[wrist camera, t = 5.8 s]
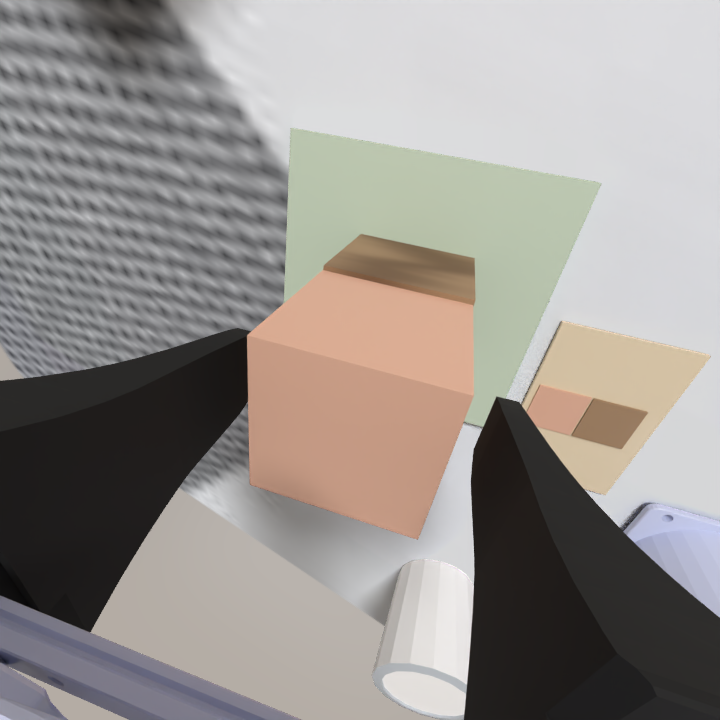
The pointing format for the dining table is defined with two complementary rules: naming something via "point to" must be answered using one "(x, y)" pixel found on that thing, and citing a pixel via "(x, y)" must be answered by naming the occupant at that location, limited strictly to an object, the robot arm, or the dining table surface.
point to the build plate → (441, 232)
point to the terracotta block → (359, 398)
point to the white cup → (427, 640)
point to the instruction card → (605, 398)
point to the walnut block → (407, 267)
